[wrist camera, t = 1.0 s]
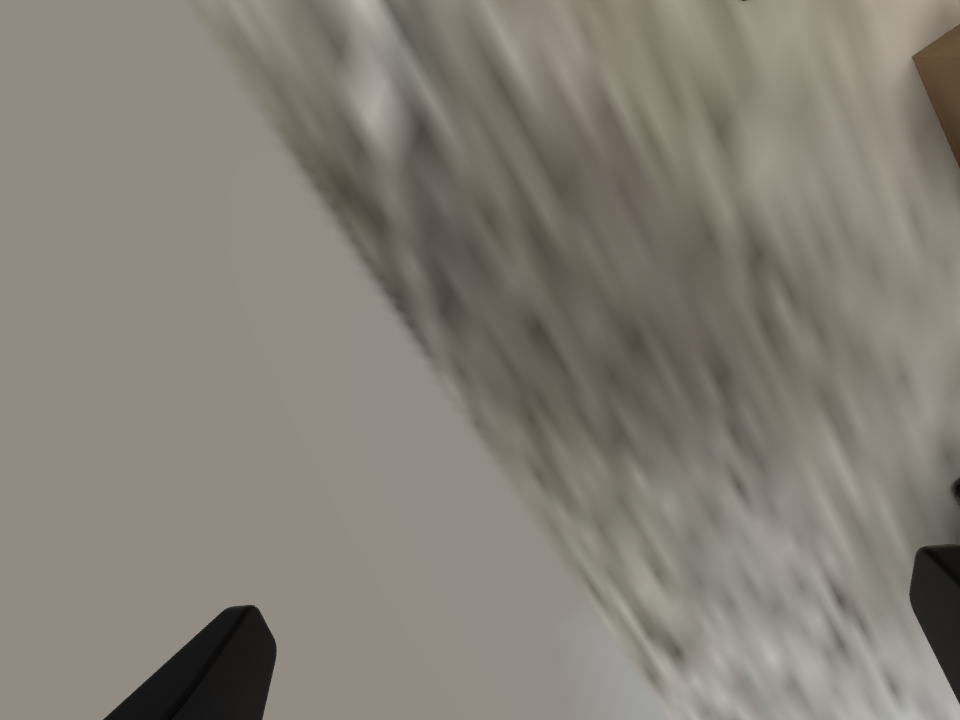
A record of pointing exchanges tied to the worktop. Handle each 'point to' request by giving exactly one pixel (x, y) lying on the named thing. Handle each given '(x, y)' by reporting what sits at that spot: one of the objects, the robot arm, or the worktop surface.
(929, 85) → the walnut block
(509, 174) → the worktop surface
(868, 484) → the worktop surface
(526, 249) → the worktop surface
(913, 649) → the worktop surface
